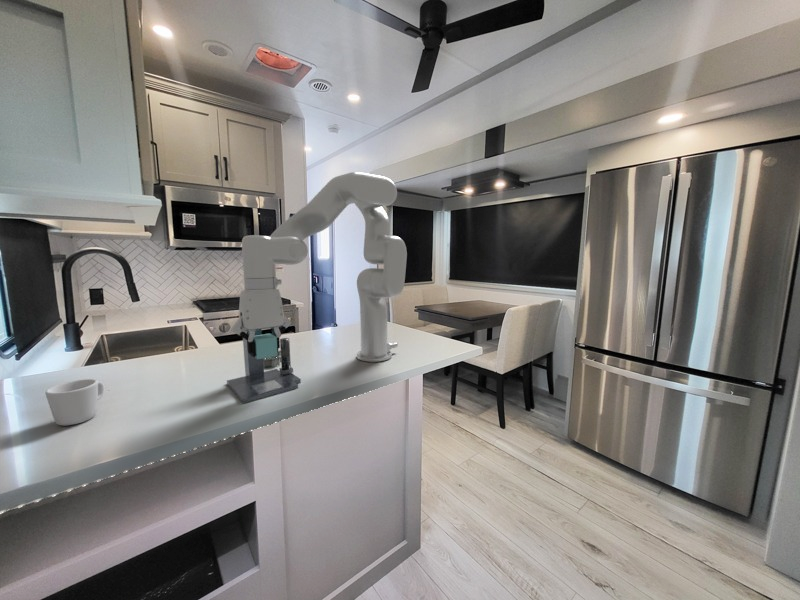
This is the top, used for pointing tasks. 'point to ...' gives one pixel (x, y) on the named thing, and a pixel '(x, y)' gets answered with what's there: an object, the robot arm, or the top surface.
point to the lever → (285, 356)
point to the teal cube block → (265, 346)
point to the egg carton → (272, 360)
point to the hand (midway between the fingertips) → (264, 352)
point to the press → (260, 379)
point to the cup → (74, 401)
